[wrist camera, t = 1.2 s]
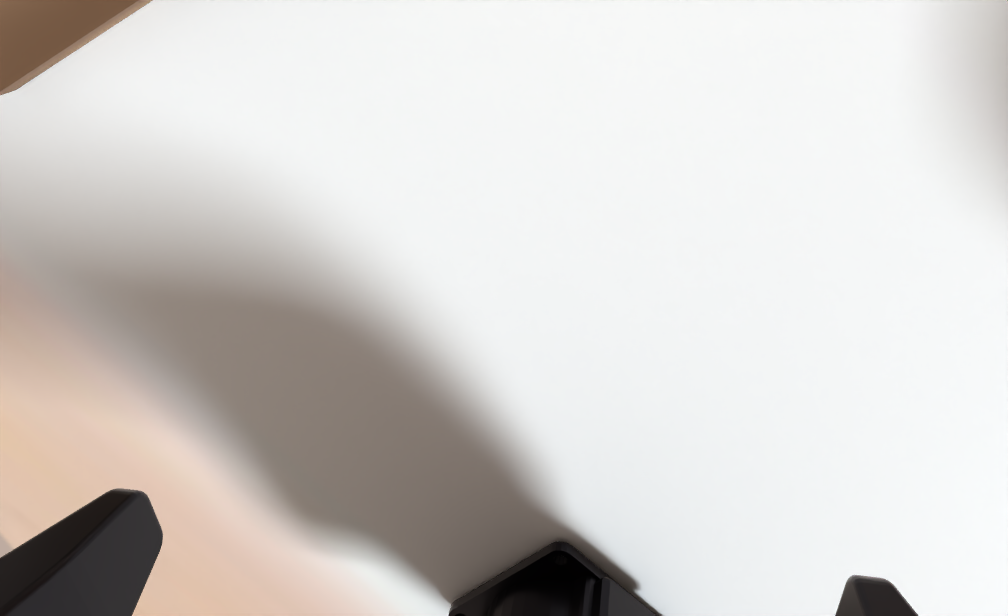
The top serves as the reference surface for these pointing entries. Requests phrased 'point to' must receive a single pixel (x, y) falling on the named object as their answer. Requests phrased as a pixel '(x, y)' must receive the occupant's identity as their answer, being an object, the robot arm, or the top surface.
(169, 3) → the top surface
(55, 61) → the roll stand
